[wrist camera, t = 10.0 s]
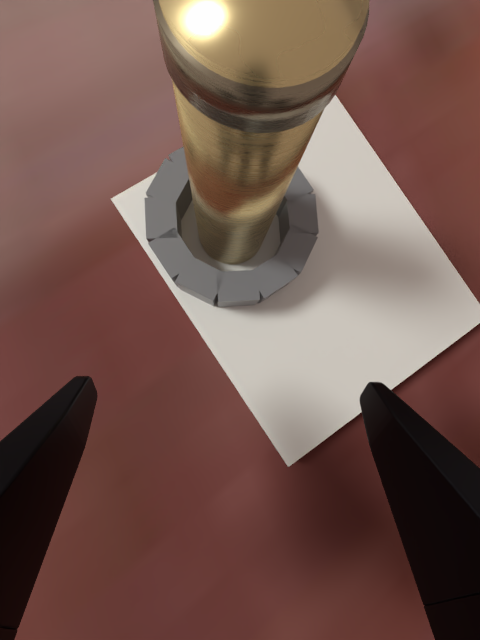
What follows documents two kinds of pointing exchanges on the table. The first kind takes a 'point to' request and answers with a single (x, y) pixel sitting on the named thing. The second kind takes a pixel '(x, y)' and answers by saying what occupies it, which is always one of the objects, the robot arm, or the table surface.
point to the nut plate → (311, 286)
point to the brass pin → (251, 102)
